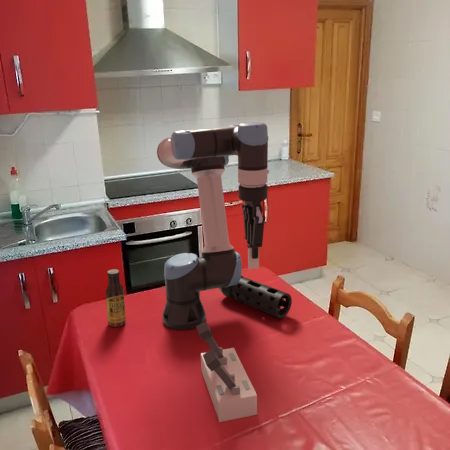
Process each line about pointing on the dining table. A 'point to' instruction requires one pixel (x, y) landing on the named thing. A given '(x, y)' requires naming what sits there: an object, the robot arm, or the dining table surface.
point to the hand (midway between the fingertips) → (253, 267)
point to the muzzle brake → (259, 297)
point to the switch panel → (236, 397)
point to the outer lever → (218, 368)
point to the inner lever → (208, 338)
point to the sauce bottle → (115, 300)
